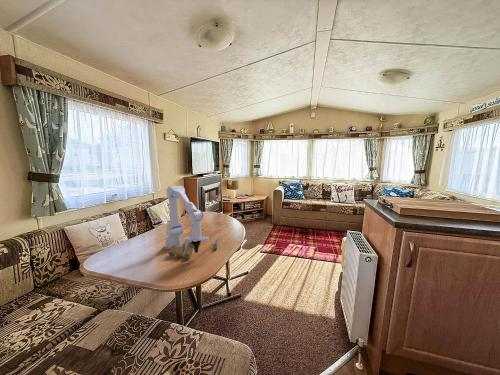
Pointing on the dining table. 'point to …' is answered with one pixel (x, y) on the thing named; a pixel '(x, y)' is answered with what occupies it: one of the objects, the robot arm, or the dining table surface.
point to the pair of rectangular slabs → (188, 242)
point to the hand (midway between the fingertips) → (196, 252)
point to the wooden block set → (181, 251)
